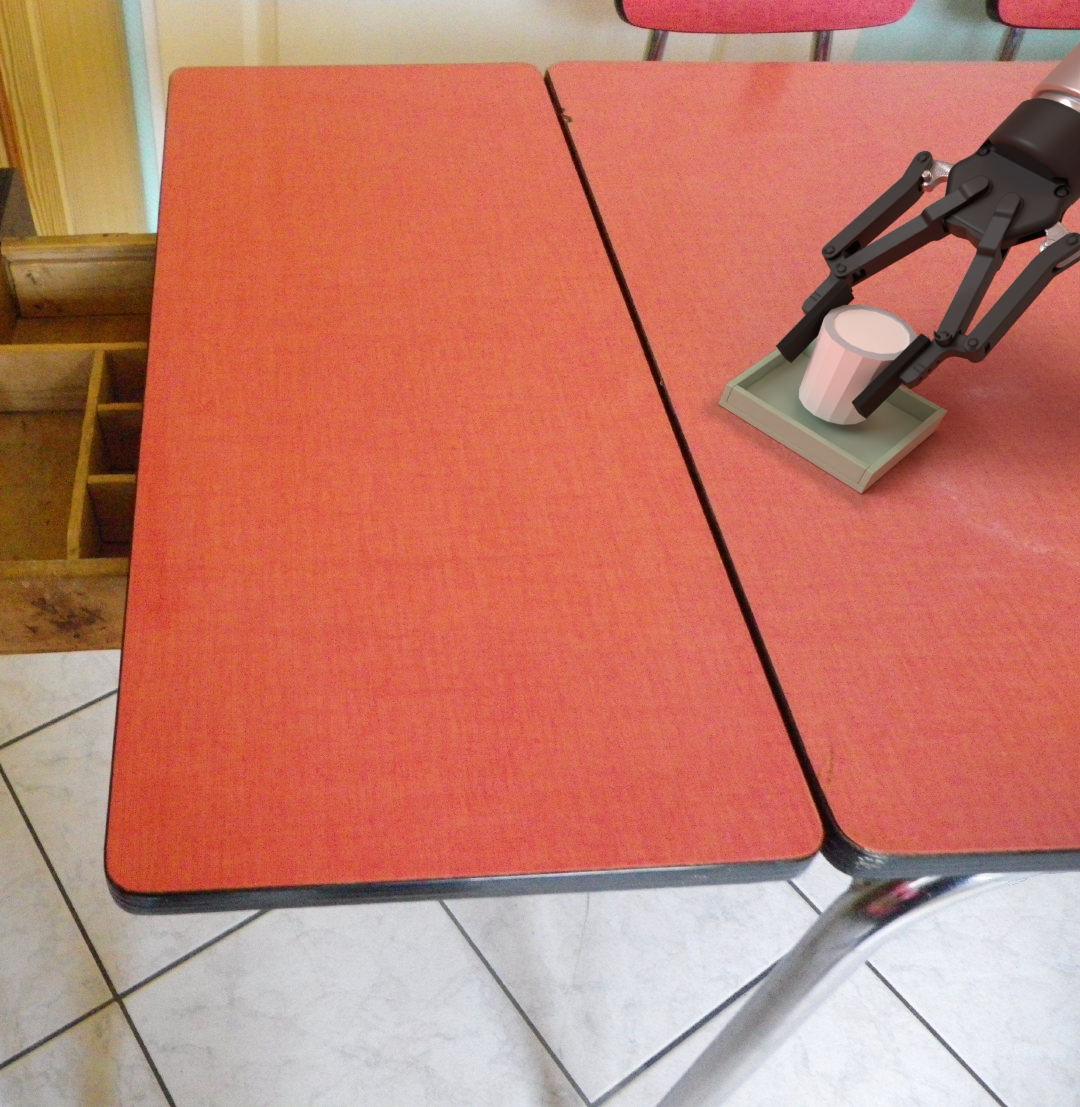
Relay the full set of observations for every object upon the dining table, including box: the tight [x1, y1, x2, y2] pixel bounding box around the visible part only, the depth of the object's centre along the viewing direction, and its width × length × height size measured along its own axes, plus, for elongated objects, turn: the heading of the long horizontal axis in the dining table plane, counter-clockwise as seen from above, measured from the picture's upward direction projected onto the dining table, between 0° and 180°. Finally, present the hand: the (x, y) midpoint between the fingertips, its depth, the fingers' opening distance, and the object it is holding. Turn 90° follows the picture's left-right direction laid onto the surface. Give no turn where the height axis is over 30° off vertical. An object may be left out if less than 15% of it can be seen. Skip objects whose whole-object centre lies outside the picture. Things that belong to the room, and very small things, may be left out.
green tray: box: [718, 337, 948, 494], centre depth 82 cm, size 13×11×2 cm
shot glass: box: [799, 303, 918, 425], centre depth 79 cm, size 7×7×7 cm
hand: (820, 381), depth 78 cm, fingers closed on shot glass, 7 cm apart
